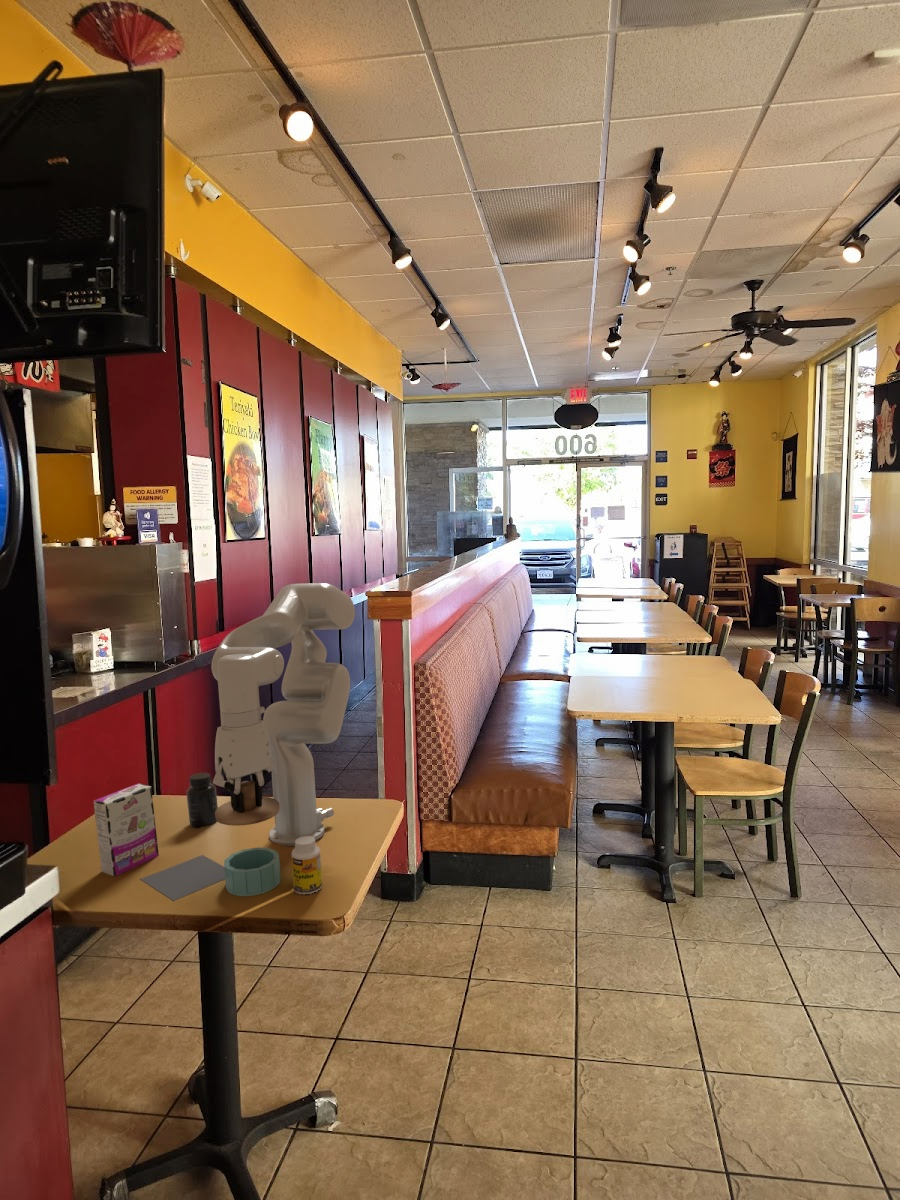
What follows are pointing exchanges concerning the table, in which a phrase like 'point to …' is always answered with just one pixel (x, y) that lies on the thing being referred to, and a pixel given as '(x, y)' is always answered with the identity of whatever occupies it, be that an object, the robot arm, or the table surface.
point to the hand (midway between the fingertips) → (247, 807)
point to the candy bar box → (126, 829)
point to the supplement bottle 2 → (306, 866)
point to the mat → (186, 877)
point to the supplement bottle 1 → (201, 800)
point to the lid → (247, 808)
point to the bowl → (252, 871)
